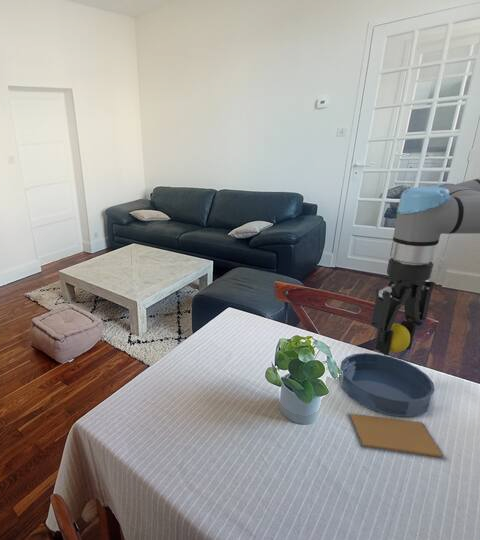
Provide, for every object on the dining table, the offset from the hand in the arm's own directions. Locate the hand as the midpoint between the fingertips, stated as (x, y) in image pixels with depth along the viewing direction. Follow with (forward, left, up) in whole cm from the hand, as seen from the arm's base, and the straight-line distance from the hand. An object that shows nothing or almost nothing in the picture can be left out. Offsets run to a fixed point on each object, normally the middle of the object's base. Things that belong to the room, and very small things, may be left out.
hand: (392, 349), depth 82 cm
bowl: (-1, -3, -15) cm, 15 cm away
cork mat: (+2, +13, -15) cm, 20 cm away
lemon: (0, 0, -1) cm, 1 cm away
